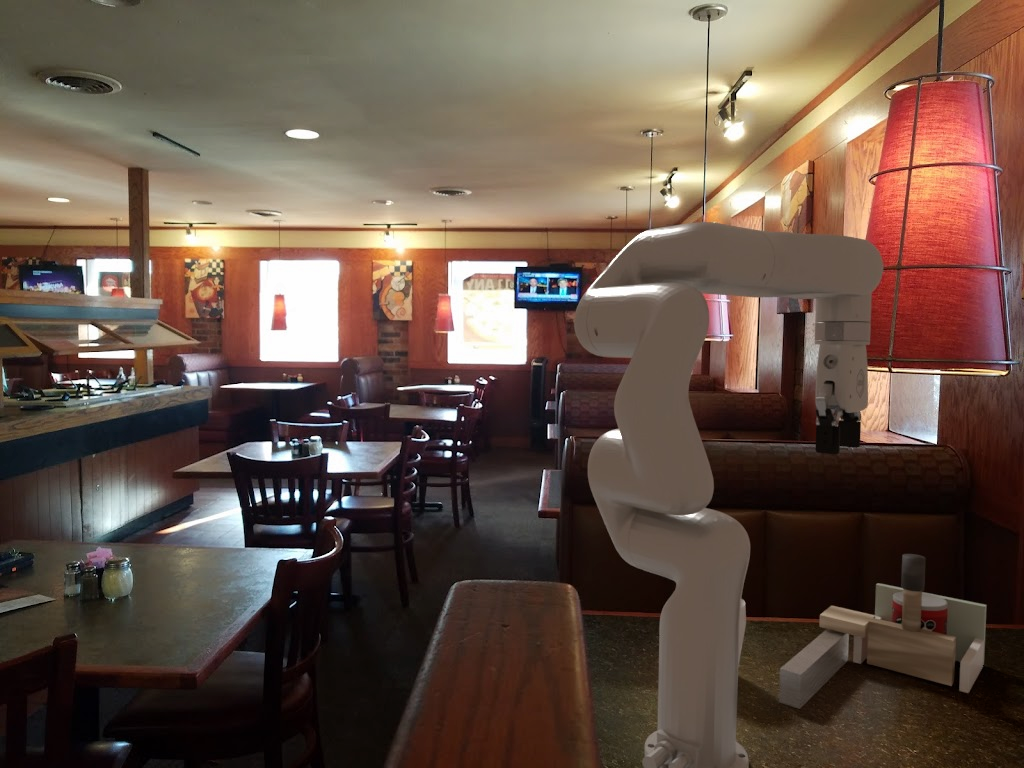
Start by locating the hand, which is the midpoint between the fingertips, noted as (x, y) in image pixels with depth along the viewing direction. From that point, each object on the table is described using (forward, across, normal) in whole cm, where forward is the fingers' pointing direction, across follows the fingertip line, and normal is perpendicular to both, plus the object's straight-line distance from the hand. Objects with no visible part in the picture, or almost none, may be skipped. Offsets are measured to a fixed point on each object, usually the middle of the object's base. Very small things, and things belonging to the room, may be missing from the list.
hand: (838, 449), depth 111 cm
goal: (+36, +18, -8) cm, 41 cm away
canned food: (+36, +18, -8) cm, 41 cm away
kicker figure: (+36, +13, -5) cm, 38 cm away
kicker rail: (+36, +1, +2) cm, 36 cm away
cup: (+36, -8, +15) cm, 40 cm away
